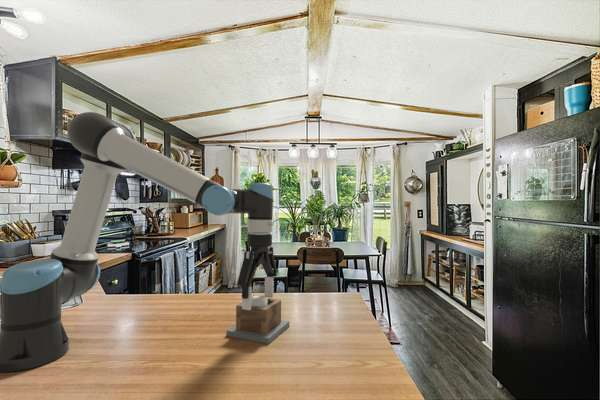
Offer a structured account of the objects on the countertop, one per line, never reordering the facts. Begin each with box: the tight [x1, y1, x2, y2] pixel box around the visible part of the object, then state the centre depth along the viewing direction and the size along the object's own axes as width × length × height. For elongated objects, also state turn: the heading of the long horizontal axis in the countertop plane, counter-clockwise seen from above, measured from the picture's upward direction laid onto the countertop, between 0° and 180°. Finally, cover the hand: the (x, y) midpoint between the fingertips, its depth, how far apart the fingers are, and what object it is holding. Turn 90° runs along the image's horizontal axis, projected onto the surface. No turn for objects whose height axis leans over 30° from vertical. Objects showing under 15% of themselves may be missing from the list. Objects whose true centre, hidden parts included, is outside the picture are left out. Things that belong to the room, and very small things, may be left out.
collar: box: [235, 298, 282, 335], centre depth 97 cm, size 10×10×7 cm
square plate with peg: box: [225, 295, 290, 345], centre depth 97 cm, size 14×14×10 cm
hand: (258, 302), depth 97 cm, fingers open, 13 cm apart
